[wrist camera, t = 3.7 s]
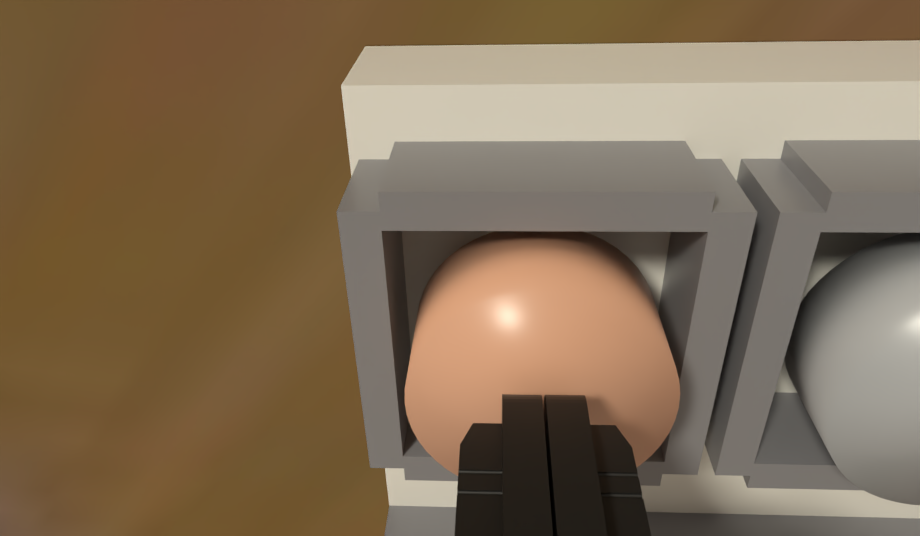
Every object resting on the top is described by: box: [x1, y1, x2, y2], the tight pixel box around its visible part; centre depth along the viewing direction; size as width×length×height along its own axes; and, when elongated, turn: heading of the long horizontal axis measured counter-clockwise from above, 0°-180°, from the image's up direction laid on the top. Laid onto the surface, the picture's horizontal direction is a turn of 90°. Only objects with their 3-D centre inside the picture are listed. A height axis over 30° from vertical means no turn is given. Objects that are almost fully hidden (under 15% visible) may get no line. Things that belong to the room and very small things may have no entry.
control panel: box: [337, 40, 920, 536], centre depth 19 cm, size 20×16×5 cm
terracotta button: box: [405, 231, 680, 476], centre depth 14 cm, size 5×5×2 cm
